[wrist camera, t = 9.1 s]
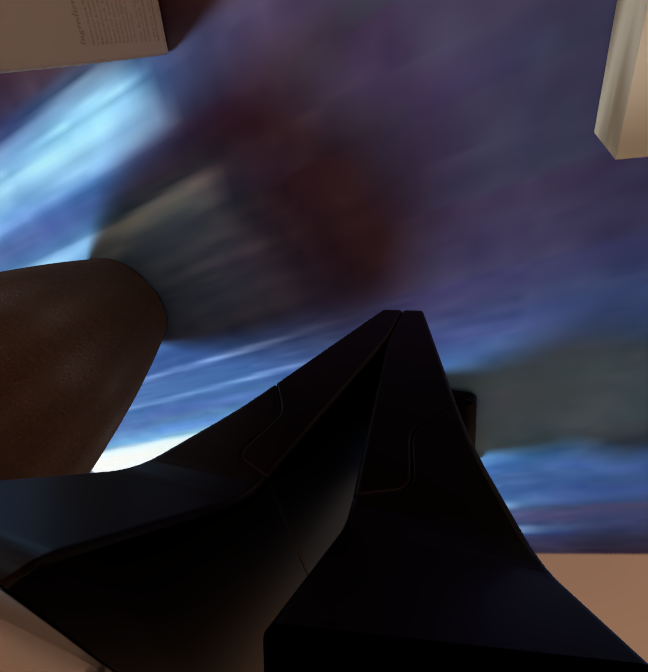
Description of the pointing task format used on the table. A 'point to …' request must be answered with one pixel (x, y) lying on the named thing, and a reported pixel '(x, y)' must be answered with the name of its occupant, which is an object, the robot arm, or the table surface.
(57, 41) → the small box
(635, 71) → the deck
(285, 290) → the table surface
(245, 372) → the table surface
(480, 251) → the table surface
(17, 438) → the plant pot
